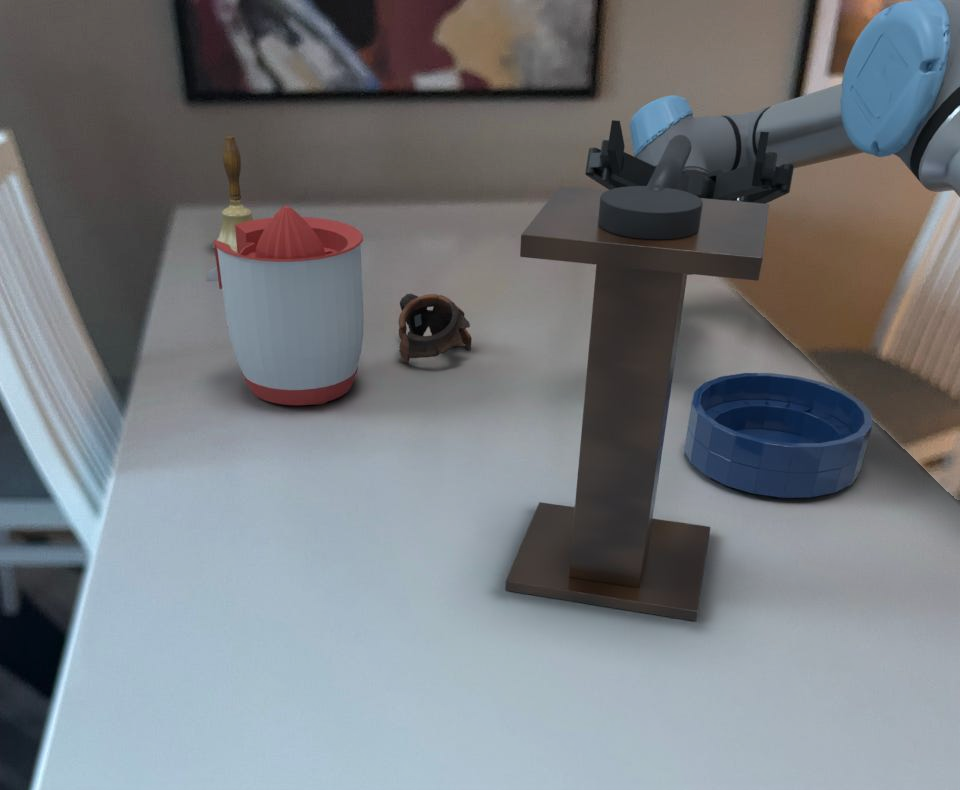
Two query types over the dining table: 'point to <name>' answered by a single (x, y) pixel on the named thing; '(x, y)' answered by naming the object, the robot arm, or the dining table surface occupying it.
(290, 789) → the dining table surface
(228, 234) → the hand bell
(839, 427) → the bowl
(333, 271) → the citrus juicer
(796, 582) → the dining table surface
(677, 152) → the long-handled flat disc
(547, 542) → the wooden pedestal stand
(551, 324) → the dining table surface
